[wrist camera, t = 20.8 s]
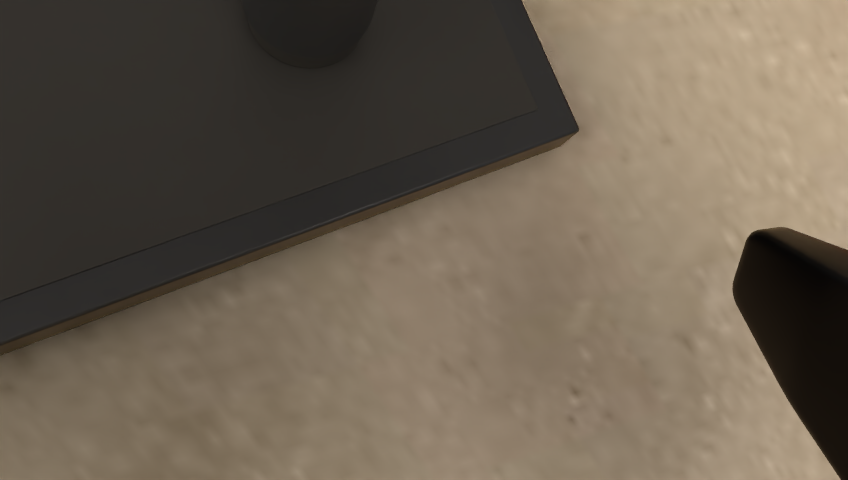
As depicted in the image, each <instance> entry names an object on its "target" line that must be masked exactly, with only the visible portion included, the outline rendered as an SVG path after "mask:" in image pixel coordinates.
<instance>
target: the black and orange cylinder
mask: <svg viewBox="0 0 848 480" xmlns="http://www.w3.org/2000/svg"><path fill="white" fill-rule="evenodd" d="M377 1H378V0H242V5H243V8H244V12H245V14H246V16H247V19H248V23H249V27H250V29H251V31H252V34H253V35H254V37H255V39H256V40H257V42H258V43H259V44H260V45H261V47H262V48H263V49H264V50H266V51H267V52H268V53H269V54H270V55H272V56H273V57H274V58H276V59H278V60H280V61H282V62H284V63H286V64H289V65H292V66H295V67H301V68H320V67H325V66H329V65H332V64H334V63H336V62H338V61H340V60H342V59H343V58H345V57H346V56H348V55H349V54H350V53H351V52H352V51H353V50H354V49H355V47H356V46H357V45H358V43H359V41H360V39H361V37H362V36H363V35H364V34H365V32H366V30H367V29H368V27H369V25H370V23H371V21H372V18H373V14H374V11H375V8H376V4H377Z"/></svg>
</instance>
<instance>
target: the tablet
mask: <svg viewBox="0 0 848 480" xmlns="http://www.w3.org/2000/svg"><path fill="white" fill-rule="evenodd" d="M578 131H579V127H578V125H577V123H576V121H575V119H574V116H573V114H572V112H571V110H570V107H569V105H568V103H567V101H566V99H565V96H564V94H563V92H562V90H561V87H560V85H559V83H558V81H557V79H556V76H555V74H554V72H553V70H552V67H551V65H550V63H549V61H548V59H547V56H546V54H545V52H544V50H543V47H542V45H541V43H540V41H539V39H538V36H537V34H536V32H535V30H534V27H533V25H532V23H531V21H530V19H529V16H528V14H527V12H526V10H525V7H524V5H523V3H522V1H521V0H378V1H377V4H376V8H375V11H374V14H373V18H372V21H371V23H370V25H369V27H368V29H367V30H366V32H365V34H364V35H363V36H362V37H361V39H360V41H359V43H358V45H357V46H356V47H355V49H354V50H353V51H352V52H351V53H350V54H349V55H348V56H346V57H345V58H343V59H342V60H340V61H338V62H336V63H334V64H332V65H329V66H325V67H320V68H301V67H295V66H292V65H289V64H286V63H284V62H282V61H280V60H278V59H276V58H274V57H273V56H272V55H270V54H269V53H268V52H267V51H266V50H264V49H263V48H262V47H261V45H260V44H259V43H258V42H257V40H256V39H255V37H254V35H253V34H252V31H251V29H250V27H249V23H248V19H247V16H246V14H245V12H244V8H243V5H242V0H0V355H3V354H5V353H8V352H11V351H13V350H16V349H19V348H21V347H24V346H27V345H29V344H32V343H35V342H37V341H40V340H43V339H45V338H48V337H51V336H53V335H56V334H59V333H61V332H64V331H67V330H70V329H72V328H75V327H78V326H80V325H83V324H86V323H88V322H91V321H94V320H96V319H99V318H102V317H104V316H107V315H110V314H112V313H115V312H118V311H120V310H123V309H126V308H128V307H131V306H134V305H136V304H139V303H142V302H144V301H147V300H150V299H153V298H155V297H158V296H161V295H163V294H166V293H169V292H171V291H174V290H177V289H179V288H182V287H185V286H187V285H190V284H193V283H195V282H198V281H201V280H203V279H206V278H209V277H211V276H214V275H217V274H219V273H222V272H225V271H228V270H230V269H233V268H236V267H238V266H241V265H244V264H246V263H249V262H252V261H254V260H257V259H260V258H262V257H265V256H268V255H270V254H273V253H276V252H278V251H281V250H284V249H286V248H289V247H292V246H294V245H297V244H300V243H302V242H305V241H308V240H311V239H313V238H316V237H319V236H321V235H324V234H327V233H329V232H332V231H335V230H337V229H340V228H343V227H345V226H348V225H351V224H353V223H356V222H359V221H361V220H364V219H367V218H369V217H372V216H375V215H377V214H380V213H383V212H385V211H388V210H391V209H394V208H396V207H399V206H402V205H404V204H407V203H410V202H412V201H415V200H418V199H420V198H423V197H426V196H428V195H431V194H434V193H436V192H439V191H442V190H444V189H447V188H450V187H452V186H455V185H458V184H460V183H463V182H466V181H468V180H471V179H474V178H477V177H479V176H482V175H485V174H487V173H490V172H493V171H495V170H498V169H501V168H503V167H506V166H509V165H511V164H514V163H517V162H519V161H522V160H525V159H527V158H530V157H533V156H535V155H538V154H541V153H543V152H546V151H549V150H552V149H554V148H557V147H560V146H561V145H563V144H564V143H565V142H566V141H567V140H569V139H570V138H571V137H572V136H573V135H575V134H576V133H577V132H578Z"/></svg>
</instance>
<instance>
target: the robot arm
mask: <svg viewBox="0 0 848 480" xmlns="http://www.w3.org/2000/svg"><path fill="white" fill-rule="evenodd" d="M733 296H734V300H735V302H736V305H737V306H738V308H739V310H740V312H741V314H742V316H743V318H744V320H745V321H746V323H747V325H748V327H749V329H750V331H751V333H752V334H753V336H754V338H755V340H756V342H757V344H758V346H759V348H760V349H761V351H762V353H763V355H764V357H765V359H766V361H767V362H768V364H769V366H770V368H771V370H772V372H773V374H774V376H775V377H776V379H777V381H778V383H779V385H780V387H781V388H782V390H783V392H784V394H785V395H786V397H787V399H788V401H789V402H790V404H791V405H792V407H793V409H794V410H795V412H796V413H797V415H798V416H799V418H800V419H801V421H802V422H803V424H804V425H805V427H806V428H807V430H808V431H809V433H810V434H811V436H812V437H813V439H814V440H815V442H816V443H817V445H818V446H819V448H820V449H821V451H822V452H823V454H824V455H825V457H826V458H827V460H828V461H829V463H830V464H831V466H832V467H833V469H834V470H835V472H836V473H837V475H838V476H839V478H840V479H841V480H848V250H846V249H843V248H840V247H838V246H835V245H832V244H830V243H827V242H824V241H822V240H819V239H816V238H814V237H811V236H808V235H805V234H803V233H800V232H797V231H795V230H792V229H789V228H785V227H776V228H769V229H761V230H756V231H754V232H752V233H751V234H750V236H749V237H748V238H747V240H746V242H745V246H744V249H743V252H742V255H741V258H740V262H739V265H738V268H737V271H736V274H735V277H734V281H733Z"/></svg>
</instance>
